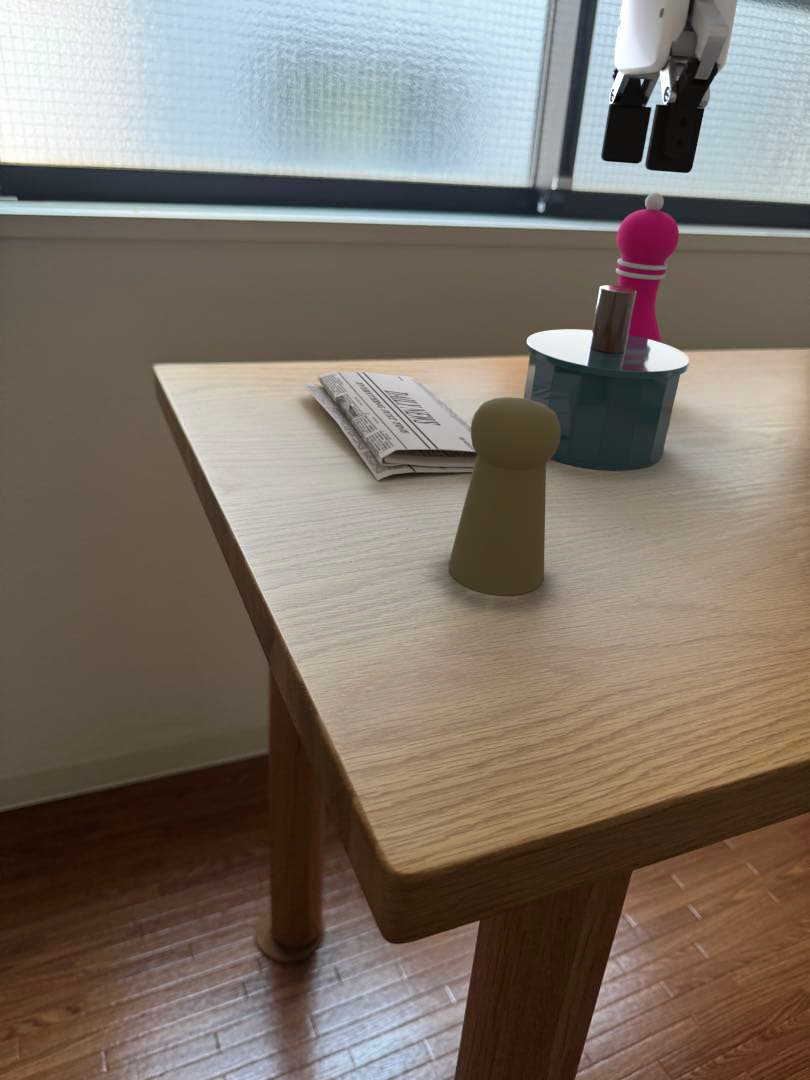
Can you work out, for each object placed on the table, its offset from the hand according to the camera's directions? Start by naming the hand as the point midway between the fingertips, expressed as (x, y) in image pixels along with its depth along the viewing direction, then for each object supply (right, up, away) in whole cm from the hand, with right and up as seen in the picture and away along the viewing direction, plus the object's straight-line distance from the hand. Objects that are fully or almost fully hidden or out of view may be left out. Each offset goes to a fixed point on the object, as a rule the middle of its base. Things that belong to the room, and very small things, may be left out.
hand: (642, 166), depth 63 cm
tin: (-1, -19, +14) cm, 23 cm away
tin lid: (0, -12, +10) cm, 15 cm away
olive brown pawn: (-12, -30, -9) cm, 33 cm away
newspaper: (-19, -18, +13) cm, 29 cm away
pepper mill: (+6, -12, +30) cm, 32 cm away
